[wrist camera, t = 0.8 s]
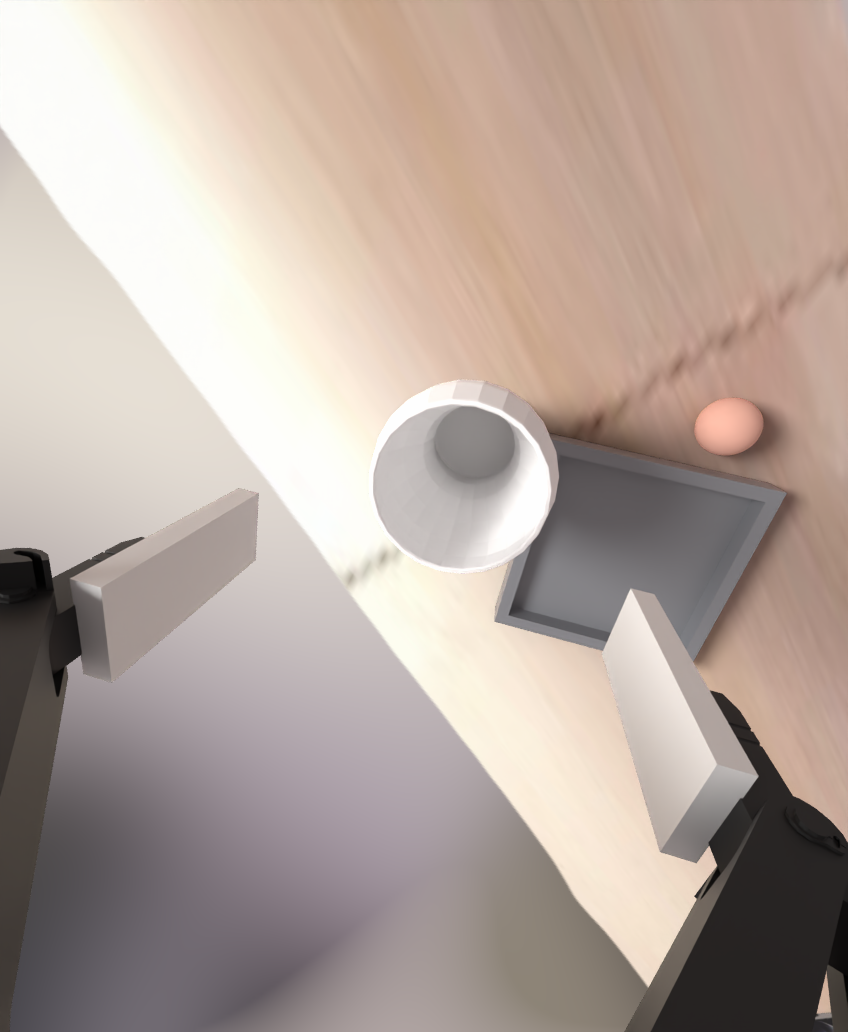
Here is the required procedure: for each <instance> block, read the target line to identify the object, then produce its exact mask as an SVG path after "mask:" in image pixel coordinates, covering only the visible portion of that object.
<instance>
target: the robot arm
mask: <svg viewBox="0 0 848 1032" xmlns="http://www.w3.org/2000/svg"><path fill="white" fill-rule="evenodd" d="M258 496H259V494H258V493H256V492H252V491H248V490H244V489H240V488H238V489H236V490H235V491H232V492H231V493H229V494H227V495H225V496H223V497H221V498H219V499H218V500H216V501H214V502H212V503H210V504H208V505H206V506H205V507H203V508H201V509H199V510H197V511H195V512H193V513H191V514H190V515H188V516H186V517H184V518H182V519H180V520H178V521H177V522H175V523H173V524H171V525H169V526H167V527H166V528H163V529H162V530H160V531H158V532H156V533H154V534H152V535H150V536H148V537H147V538H144V537H140V538H136V539H133V540H129V541H125V542H121V543H119V544H118V545H116V546H114V547H112V548H110V549H108V550H106V551H105V553H103V552H102V553H100V554H98V555H96V556H94V557H92V559H91V560H90V559H88V560H86V561H84V562H82V563H81V564H79V565H77V566H75V567H73V568H71V569H69V570H67V571H65V572H63V573H61V574H59V575H57V576H55V577H54V578H52V575H51V569H50V563H49V557H48V554H46V553H45V552H43V551H41V550H37V549H32V548H12V549H5V550H0V1032H10V1014H11V1006H12V999H13V994H14V988H15V982H16V976H17V970H18V965H19V959H20V953H21V947H22V941H23V936H24V930H25V923H26V918H27V912H28V907H29V901H30V895H31V889H32V883H33V878H34V872H35V866H36V860H37V854H38V849H39V843H40V837H41V831H42V825H43V819H44V814H45V808H46V802H47V796H48V791H49V785H50V779H51V773H52V767H53V762H54V756H55V750H56V744H57V738H58V733H59V727H60V721H61V715H62V709H63V704H64V698H65V692H66V686H67V680H68V673H67V667H66V665H68V664H69V663H71V662H72V661H73V660H75V659H76V658H77V657H78V656H80V655H81V660H82V667H83V674H85V675H88V676H92V677H94V678H98V679H101V680H104V681H107V682H111V683H112V682H113V681H114V680H116V679H117V678H118V677H119V676H120V675H121V674H123V673H124V672H125V671H126V670H127V669H128V668H130V667H131V666H132V665H133V664H134V663H135V662H137V661H138V660H139V659H140V658H141V657H142V656H144V655H145V654H146V653H147V652H148V651H149V650H151V649H152V648H153V647H154V646H155V645H157V644H158V643H159V642H160V641H161V640H162V639H164V638H165V637H166V636H167V635H168V634H169V633H171V632H172V631H173V630H174V629H175V628H176V627H178V626H179V625H180V624H181V623H182V622H183V621H185V620H186V619H187V618H188V617H189V616H190V615H192V614H193V613H194V612H195V611H196V610H198V609H199V608H200V607H201V606H202V605H203V604H205V603H206V602H207V601H208V600H209V599H210V598H212V597H213V596H214V595H215V594H216V593H217V592H218V591H220V590H221V589H222V588H223V587H225V586H226V585H227V584H228V583H229V582H230V581H232V580H233V579H234V578H235V577H236V576H237V575H239V574H240V573H241V572H242V571H243V570H244V569H246V568H247V567H248V566H249V565H250V564H251V563H253V562H254V561H255V560H256V539H257V518H258ZM602 656H603V660H604V663H605V666H606V670H607V673H608V677H609V680H610V683H611V687H612V690H613V694H614V697H615V700H616V704H617V707H618V711H619V714H620V717H621V721H622V724H623V728H624V731H625V734H626V738H627V741H628V745H629V748H630V751H631V755H632V758H633V762H634V765H635V768H636V772H637V775H638V779H639V782H640V785H641V789H642V792H643V796H644V799H645V802H646V806H647V809H648V813H649V816H650V819H651V823H652V826H653V830H654V833H655V836H656V840H657V843H658V847H659V850H660V852H662V853H665V854H669V855H672V856H675V857H678V858H681V859H685V860H688V861H691V862H694V863H697V862H698V860H699V859H700V857H701V856H702V855H703V853H704V852H705V850H706V849H707V848H708V846H710V848H711V851H712V853H713V856H714V858H715V861H716V863H717V867H716V868H715V870H714V871H713V872H712V874H711V875H710V876H709V878H708V879H707V880H706V882H705V883H704V884H703V886H702V887H701V888H700V889H699V891H698V892H697V893H696V895H695V896H694V897H695V898H697V900H696V902H695V904H694V906H693V908H692V909H691V911H690V913H689V915H688V917H687V919H686V920H685V922H684V924H683V926H682V928H681V929H680V931H679V933H678V935H677V937H676V939H675V940H674V942H673V944H672V946H671V948H670V950H669V951H668V953H667V955H666V957H665V959H664V961H663V962H662V964H661V966H660V968H659V970H658V971H657V973H656V975H655V977H654V979H653V981H652V982H651V984H650V986H649V988H648V990H647V992H646V994H645V995H644V997H643V999H642V1001H641V1002H640V1004H639V1006H638V1008H637V1010H636V1012H635V1013H634V1015H633V1017H632V1019H631V1021H630V1023H629V1024H628V1026H627V1028H626V1030H625V1032H812V1030H813V1026H814V1022H815V1017H816V1013H817V1009H818V1005H819V1000H820V996H821V992H822V987H823V983H824V979H825V975H826V970H827V979H828V988H829V996H830V1005H831V1014H832V1023H833V1031H834V1032H848V842H847V841H846V839H845V837H844V836H843V834H842V833H841V832H840V831H839V830H838V829H837V827H836V826H835V825H834V824H833V823H832V822H831V821H830V820H829V819H828V818H827V817H825V816H824V815H823V814H822V813H821V812H819V811H818V810H817V809H816V808H814V807H813V806H811V805H809V804H808V803H806V802H804V801H803V800H801V799H799V798H796V797H794V796H793V795H792V794H791V792H790V791H789V789H788V787H787V786H786V784H785V782H784V781H783V779H782V778H781V776H780V774H779V773H778V771H777V770H776V768H775V766H774V765H773V763H772V762H771V760H770V758H769V757H768V755H767V754H766V752H765V750H764V749H763V747H761V746H760V742H759V741H758V739H757V738H756V736H755V734H754V733H753V732H751V728H750V726H749V725H748V723H747V722H746V720H745V718H744V717H743V715H742V714H741V712H740V711H739V710H738V709H737V708H736V707H735V706H734V705H733V704H732V703H731V702H730V701H729V700H728V699H727V698H726V697H725V696H724V695H723V694H721V693H718V692H714V691H710V690H709V689H708V687H707V685H706V684H705V682H704V680H703V678H702V677H701V675H700V673H699V671H698V670H697V668H696V666H695V664H694V663H693V661H692V659H691V657H690V656H689V654H688V652H687V650H686V649H685V647H684V645H683V643H682V642H681V640H680V638H679V636H678V635H677V633H676V631H675V629H674V628H673V626H672V624H671V622H670V621H669V619H668V617H667V615H666V614H665V612H664V610H663V608H662V607H661V605H660V603H659V601H658V600H657V598H656V596H655V594H652V593H648V592H644V591H640V590H636V589H632V588H631V589H630V591H629V593H628V595H627V598H626V600H625V602H624V605H623V607H622V609H621V611H620V614H619V616H618V618H617V620H616V623H615V625H614V627H613V629H612V632H611V634H610V636H609V638H608V641H607V643H606V645H605V648H604V650H603V652H602Z"/></svg>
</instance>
